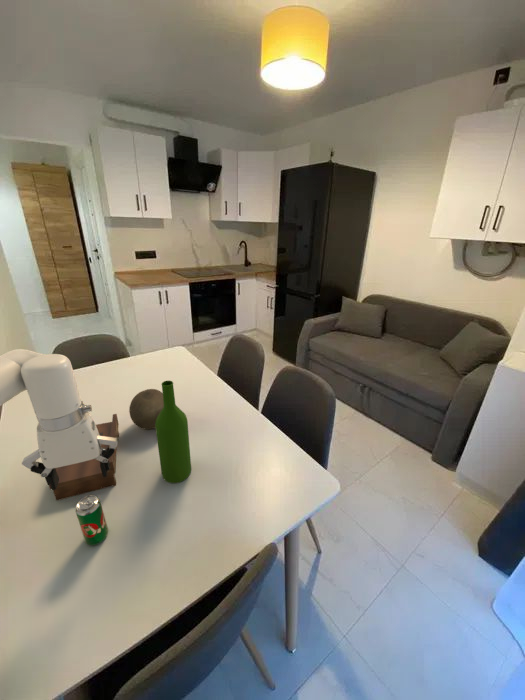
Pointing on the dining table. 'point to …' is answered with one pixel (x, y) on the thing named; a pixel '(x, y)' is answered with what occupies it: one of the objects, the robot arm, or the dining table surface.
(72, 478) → the brown wooden box
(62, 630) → the dining table surface
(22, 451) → the dining table surface
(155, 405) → the cantaloupe
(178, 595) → the dining table surface
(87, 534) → the soda can
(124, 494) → the dining table surface
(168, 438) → the wine bottle
